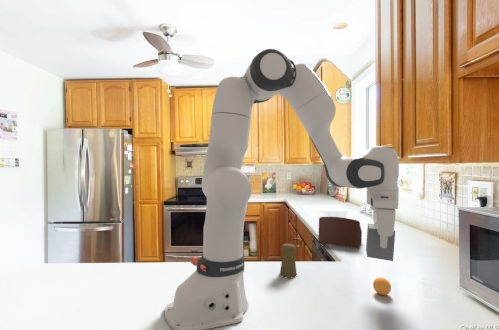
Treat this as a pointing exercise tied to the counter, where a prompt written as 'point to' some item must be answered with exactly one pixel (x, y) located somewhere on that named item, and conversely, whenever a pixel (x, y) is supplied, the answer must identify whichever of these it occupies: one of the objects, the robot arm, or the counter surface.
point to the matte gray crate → (374, 244)
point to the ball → (382, 286)
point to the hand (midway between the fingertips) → (381, 243)
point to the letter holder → (340, 231)
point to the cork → (288, 261)
